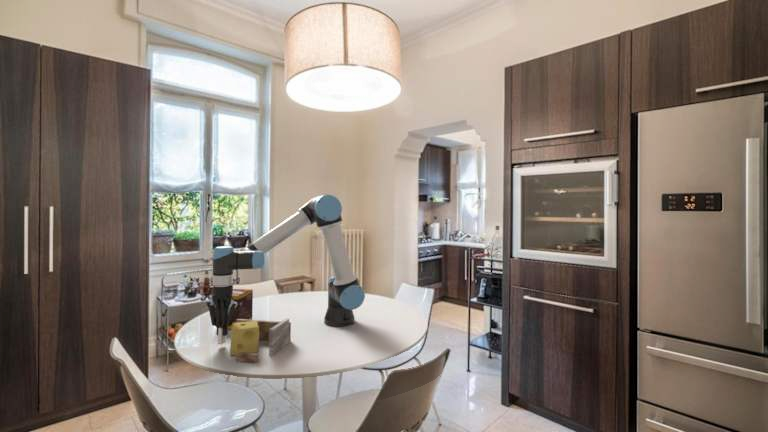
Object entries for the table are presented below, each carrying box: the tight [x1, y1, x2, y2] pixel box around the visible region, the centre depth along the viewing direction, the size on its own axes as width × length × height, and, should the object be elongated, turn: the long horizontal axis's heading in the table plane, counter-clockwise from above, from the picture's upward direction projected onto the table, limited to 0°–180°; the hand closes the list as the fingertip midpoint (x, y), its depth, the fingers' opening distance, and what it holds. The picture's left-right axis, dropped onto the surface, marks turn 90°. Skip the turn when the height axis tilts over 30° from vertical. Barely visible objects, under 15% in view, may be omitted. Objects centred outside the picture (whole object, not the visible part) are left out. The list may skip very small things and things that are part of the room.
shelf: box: [235, 318, 292, 364], centre depth 142 cm, size 24×24×10 cm
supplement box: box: [227, 288, 254, 330], centre depth 174 cm, size 10×15×16 cm
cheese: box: [229, 321, 260, 356], centre depth 141 cm, size 10×11×10 cm
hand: (221, 343), depth 144 cm, fingers closed
